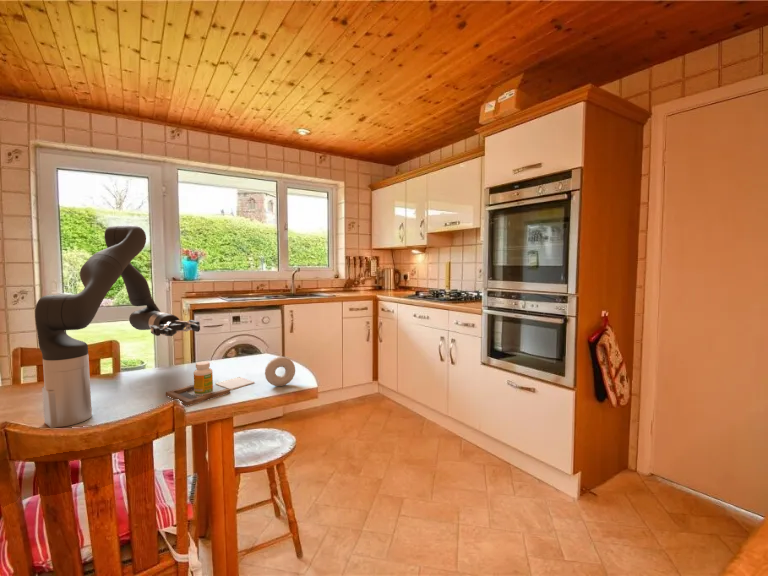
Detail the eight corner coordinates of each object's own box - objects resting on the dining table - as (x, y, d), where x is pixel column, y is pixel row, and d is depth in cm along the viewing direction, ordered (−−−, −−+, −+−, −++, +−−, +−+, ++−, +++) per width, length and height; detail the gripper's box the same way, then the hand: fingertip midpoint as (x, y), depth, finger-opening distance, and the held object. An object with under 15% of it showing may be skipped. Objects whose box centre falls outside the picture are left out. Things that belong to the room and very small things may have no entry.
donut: (266, 389, 126) (265, 359, 125) (264, 386, 129) (263, 357, 128) (296, 385, 130) (296, 356, 129) (294, 382, 133) (293, 354, 132)
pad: (230, 390, 125) (230, 388, 125) (215, 384, 131) (215, 383, 131) (254, 383, 132) (254, 381, 132) (239, 377, 138) (239, 376, 138)
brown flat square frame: (187, 406, 112) (187, 401, 112) (165, 395, 120) (165, 391, 120) (230, 392, 123) (230, 389, 123) (207, 384, 131) (207, 380, 131)
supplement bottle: (205, 396, 120) (204, 365, 119) (190, 395, 121) (189, 364, 120) (216, 390, 125) (215, 361, 124) (201, 389, 126) (200, 360, 125)
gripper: (141, 316, 132) (162, 322, 122) (184, 310, 143) (206, 316, 133) (142, 337, 132) (163, 346, 122) (185, 330, 144) (207, 337, 134)
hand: (185, 330), depth 128 cm, fingers open, 8 cm apart
